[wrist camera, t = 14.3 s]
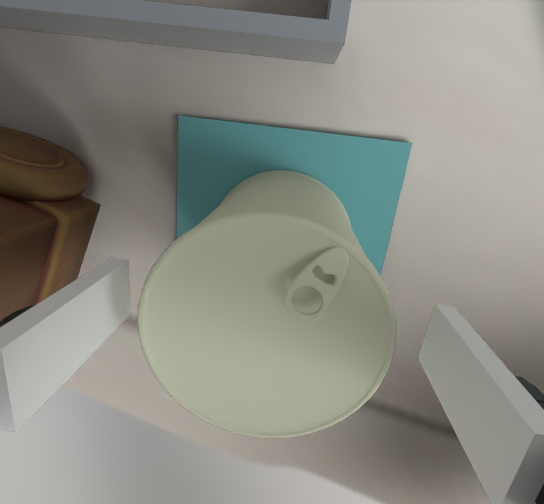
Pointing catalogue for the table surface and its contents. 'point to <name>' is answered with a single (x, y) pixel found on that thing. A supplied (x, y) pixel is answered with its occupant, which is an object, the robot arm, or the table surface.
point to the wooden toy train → (40, 219)
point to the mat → (291, 157)
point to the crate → (187, 26)
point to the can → (269, 312)
